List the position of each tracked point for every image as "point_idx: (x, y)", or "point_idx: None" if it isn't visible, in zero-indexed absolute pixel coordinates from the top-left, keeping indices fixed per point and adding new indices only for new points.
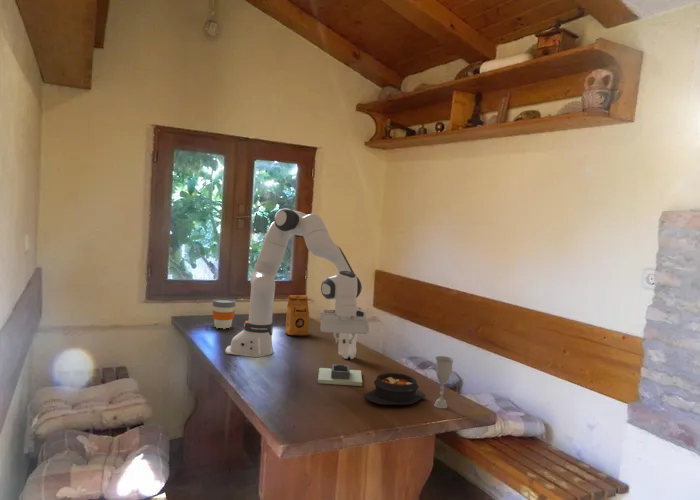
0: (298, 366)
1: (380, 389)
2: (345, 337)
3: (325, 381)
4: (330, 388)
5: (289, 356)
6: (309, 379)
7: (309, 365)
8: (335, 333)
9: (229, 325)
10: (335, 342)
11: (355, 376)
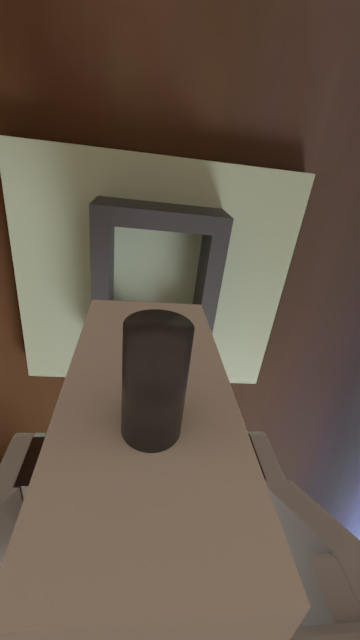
0: (331, 416)
1: None
2: (120, 491)
3: (262, 167)
4: (241, 51)
5: (332, 506)
6: (334, 240)
7: (279, 434)
8: (351, 600)
9: None
10: (264, 440)
11: (55, 267)
